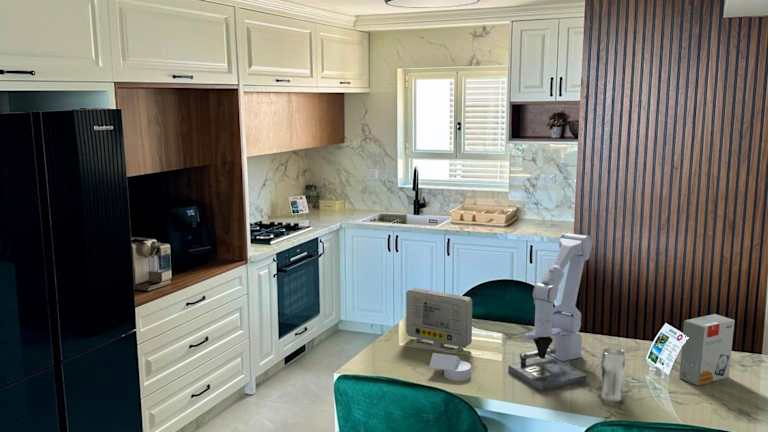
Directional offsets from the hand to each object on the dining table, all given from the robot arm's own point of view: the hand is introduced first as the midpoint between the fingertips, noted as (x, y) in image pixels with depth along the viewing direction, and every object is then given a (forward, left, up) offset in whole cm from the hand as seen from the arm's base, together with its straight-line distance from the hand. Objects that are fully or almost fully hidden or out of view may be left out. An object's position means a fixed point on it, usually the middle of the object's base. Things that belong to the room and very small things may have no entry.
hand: (541, 357), depth 226 cm
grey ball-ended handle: (0, -2, 0) cm, 2 cm away
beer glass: (-6, +26, -5) cm, 27 cm away
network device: (+20, -36, -5) cm, 41 cm away
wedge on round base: (+29, -11, -5) cm, 31 cm away
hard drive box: (-44, +28, -5) cm, 53 cm away
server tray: (+2, +5, -4) cm, 7 cm away
